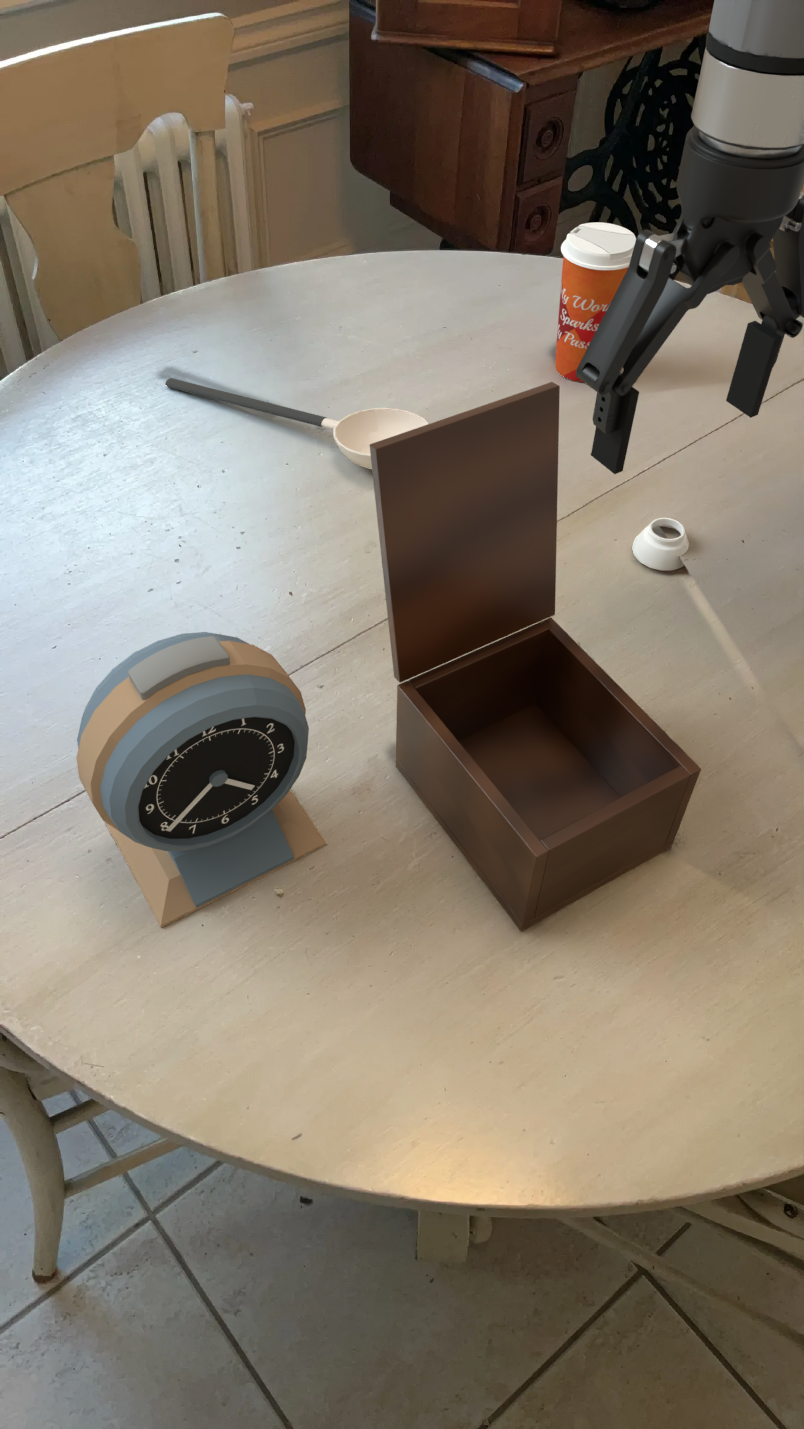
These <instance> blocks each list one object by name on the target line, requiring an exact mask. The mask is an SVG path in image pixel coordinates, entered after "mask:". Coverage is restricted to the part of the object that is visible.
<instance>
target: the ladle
mask: <svg viewBox="0 0 804 1429" xmlns="http://www.w3.org/2000/svg"><path fill="white" fill-rule="evenodd" d="M164 385H167V386H168V387H167V388H169V387H171V388H170V389H174V390H177V391H181V392H185V393H189V394H193V395H196V396H199V397H204V398H207V399H208V398H209V399H212V400H215V401H218V402H219V401H220V402H224V403H227V404H230V405H231V404H232V405H235V406H238V407H243V408H247V409H251V410H255V411H258V412H262V413H266V414H269V415H274V416H278V417H282V418H285V419H288V420H294V421H298V422H301V423H305V424H308V425H312V426H316V427H321V428H326V429H331V430H333V433H332V434H333V435H332V436H333V439H334V441H335V444H336V445H337V447H338V449H339V450H340V451H341V453H342V454H343V455H344V456H345V457H347V458H348V459H349V460H350V461H351V462H353V463H354V464H356V465H357V466H360V467H363V468H366V469H369V470H372V464H371V454H370V444H372V443H375V442H378V441H381V440H384V439H387V438H390V437H393V436H396V435H399V434H401V433H404V432H407V431H410V430H413V429H416V428H419V427H422V426H425V425H428V424H430V422H428V420H427V419H426V418H424V417H422V416H421V415H419V414H417V413H414V412H413V411H412V412H411V411H408V410H405V409H400V408H393V407H372V408H367V409H361V410H357V411H355V412H353V413H350V414H348V415H346V416H344V417H343V418H341V419H340V420H335V419H332V418H328V417H326V416H322V415H318V414H315V413H310V412H307V411H303V410H298V409H295V408H291V407H287V406H283V405H279V404H275V403H271V402H268V401H263V400H260V399H255V398H252V397H247V396H243V395H239V394H236V393H233V392H228V391H224V390H220V389H216V388H213V387H208V386H204V385H200V384H197V383H192V382H188V381H185V380H181V379H177V378H173V377H170V378H168V379H166V381H165V383H164Z"/></svg>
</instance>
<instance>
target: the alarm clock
mask: <svg viewBox="0 0 804 1429" xmlns="http://www.w3.org/2000/svg"><path fill="white" fill-rule="evenodd" d="M306 712H307V709H306V706H305V702H304V699H303V694H302V692H301V690H300V689H299V687H298V686H297V685H296V683H295V682H294V681H293V679H292V678H291V677H290V675H289V674H288V673H287V672H286V670H285V669H284V668H283V666H282V665H281V664H280V663H279V662H278V660H277V659H276V658H275V657H274V656H273V655H272V654H271V653H270V652H268V651H265V650H264V649H262V648H260V647H259V646H257V645H254V644H251V643H249V642H247V641H245V640H243V639H241V638H239V637H237V636H231V635H227V634H226V635H225V634H220V633H216V632H215V633H214V632H208V631H202V632H201V631H199V632H198V631H197V632H187V633H180V634H176V635H173V636H170V637H169V636H168V637H166V638H161V639H159V640H157V641H154V642H153V643H151V644H148V645H147V646H144V647H143V648H141V649H139V650H137V651H135V652H133V653H131V655H129V656H128V657H126V658H125V659H124V660H122V661H121V662H119V664H117V665H116V666H115V667H113V668H112V669H111V670H110V671H109V673H108V674H107V675H106V676H105V677H104V678H103V680H102V681H101V682H100V683H98V685H97V686H96V687H95V689H94V691H93V692H92V695H91V696H90V698H89V700H88V702H87V704H86V705H85V707H84V710H83V713H82V716H81V718H80V719H81V720H80V724H79V728H78V734H77V737H76V742H77V752H76V753H77V754H76V766H77V773H78V778H79V781H80V783H81V785H82V787H83V788H84V791H85V792H86V794H87V796H88V798H89V800H90V802H91V804H92V805H93V807H94V808H95V810H96V812H97V813H98V815H99V817H100V818H101V820H102V821H103V822H104V824H105V825H106V827H107V829H108V831H109V833H110V835H111V837H112V839H113V840H114V842H115V844H116V846H117V848H118V850H119V852H120V853H121V855H122V857H123V859H124V861H125V863H126V865H127V866H128V868H129V870H130V872H131V874H132V876H133V878H134V880H135V882H136V884H137V885H138V887H139V889H140V891H141V893H142V895H143V896H144V898H145V900H146V902H147V904H148V906H149V908H150V910H151V911H152V914H153V915H154V918H155V919H156V921H157V923H158V925H159V926H160V928H161V929H162V928H164V927H166V926H167V925H169V924H171V923H173V922H176V921H177V920H180V919H182V918H184V917H185V916H188V915H190V914H191V913H193V912H195V911H197V910H199V909H201V908H203V907H205V906H207V905H209V904H211V903H214V902H215V901H217V900H220V899H222V898H224V897H225V896H227V895H230V894H231V893H233V892H235V891H238V890H240V889H241V888H244V887H246V886H247V885H249V884H252V883H253V882H256V881H257V880H260V879H261V878H263V877H265V876H268V875H269V874H271V873H273V872H275V871H277V870H280V869H281V868H284V867H285V866H287V865H289V864H291V863H293V862H295V861H297V860H299V859H301V858H303V857H306V856H308V855H309V854H312V853H313V852H315V851H317V850H319V849H321V848H323V847H325V846H327V845H328V843H327V840H325V838H324V837H323V836H322V833H321V832H320V831H319V830H318V828H317V826H316V825H315V823H314V822H313V821H312V819H311V818H310V816H309V815H308V813H307V812H306V811H305V809H304V808H303V806H302V805H301V804H300V802H299V800H298V799H297V797H296V796H295V794H294V793H293V792H292V790H291V789H292V788H293V786H294V784H295V783H296V782H297V780H298V779H299V777H300V775H301V773H302V770H303V768H304V765H305V763H306V760H307V755H308V744H309V731H310V728H309V724H308V720H307V717H306Z"/></svg>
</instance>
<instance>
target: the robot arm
mask: <svg viewBox="0 0 804 1429" xmlns="http://www.w3.org/2000/svg"><path fill="white" fill-rule="evenodd" d="M701 62H702V63H701V68H700V73H699V77H698V82H697V85H696V86H697V87H696V91H695V96H694V100H693V105H692V110H691V114H690V115H691V116H690V118H691V121H692V123H693V125H694V126H693V127H691V128H690V129H689V130H688V131H687V133H686V136H685V140H684V145H683V150H682V154H681V160H680V163H679V164H680V165H679V169H678V173H677V174H678V175H677V179H676V187H675V188H676V192H677V196H678V199H679V203H680V207H681V208H680V209H681V212H680V216H679V219H678V221H677V223H676V225H675V227H674V229H673V231H672V233H667V234H662V235H658V234H656V233H654V232H653V231H651V230H649V229H643V230H641V231H640V232H639V233H638V235H637V236H636V242H635V245H634V249H633V253H632V257H631V260H630V264H629V268H628V270H627V272H626V274H625V276H624V277H623V279H622V281H621V283H620V285H619V287H618V289H617V291H616V293H615V295H614V297H613V299H612V301H611V303H610V305H609V307H608V309H607V311H606V313H605V315H604V317H603V319H602V321H601V323H600V325H599V327H598V329H597V330H596V332H595V334H594V336H593V338H592V340H591V342H590V344H589V346H588V348H587V350H586V352H585V354H584V356H583V358H582V360H581V362H580V364H579V366H578V368H577V370H576V376H577V377H578V378H579V379H580V380H582V381H583V382H582V383H584V384H585V385H587V386H588V387H589V388H591V389H592V390H593V391H595V392H596V397H595V401H594V402H595V403H594V407H593V408H594V409H593V414H592V423H593V425H594V426H595V430H594V436H593V441H592V447H591V452H590V456H591V457H592V458H593V459H594V460H596V461H597V462H599V463H600V464H601V465H602V466H604V468H606V469H607V470H609V471H610V472H611V473H612V474H613V475H617V474H619V473H622V472H623V471H624V467H625V462H626V457H627V453H628V448H629V443H630V439H631V434H632V429H633V423H634V419H635V415H636V409H637V405H638V400H639V396H640V391H639V390H638V389H636V388H635V387H634V385H635V383H636V382H637V381H638V379H639V378H640V377H641V375H642V374H643V372H644V371H645V370H646V368H647V367H648V365H649V364H650V363H651V361H652V360H653V359H654V357H655V356H656V355H657V354H658V352H659V351H660V349H661V348H662V346H663V345H664V344H665V342H666V341H667V339H668V338H669V337H670V335H671V334H672V333H673V331H674V330H675V329H676V327H677V326H678V324H679V323H680V322H681V320H682V319H683V317H684V316H685V315H686V314H687V312H688V311H689V310H693V309H696V308H698V307H699V306H700V305H701V304H702V302H703V301H704V299H705V298H707V296H708V295H709V294H712V293H715V292H717V291H719V290H720V289H722V288H724V287H725V286H735V285H738V284H741V283H742V285H743V288H744V289H745V291H746V293H747V296H748V298H749V300H750V302H751V304H752V307H753V309H754V311H755V313H756V315H757V317H758V318H759V319H760V320H761V322H758V321H757V320H753V321H749V322H748V323H747V324H746V329H745V332H744V335H743V339H742V343H741V347H740V350H739V352H738V357H737V360H736V364H735V368H734V370H733V375H732V378H731V382H730V385H729V388H728V389H729V390H728V392H727V396H726V399H725V402H727V403H728V404H730V405H731V406H733V407H734V408H735V409H737V410H738V411H740V412H742V413H743V414H744V415H746V416H748V417H749V418H754V417H756V416H758V415H759V412H760V409H761V406H762V404H763V400H764V396H765V393H766V390H767V387H768V384H769V380H770V377H771V374H772V371H773V368H774V367H775V365H776V362H777V361H778V358H779V354H780V351H781V348H782V345H783V342H784V339H785V335H786V336H788V337H790V338H791V339H793V338H796V337H797V336H798V335H800V333H801V332H802V329H803V327H804V323H803V322H801V321H800V320H798V318H801V317H802V318H804V192H803V191H802V189H803V186H804V0H714V1H713V4H712V11H711V15H710V22H709V26H708V32H707V37H706V41H705V49H704V52H703V58H702V61H701ZM771 241H772V246H773V254H772V251H771V248H772V246H771ZM773 255H774V256H773ZM679 273H680V275H681V278H682V279H683V281H684V282H685V283H686V284H688V285H689V286H690V287H685V286H684V285H683V284H681V283H679V282H678V281H675V279H676V277H677V276H678V275H679ZM621 371H622V372H621Z"/></svg>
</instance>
